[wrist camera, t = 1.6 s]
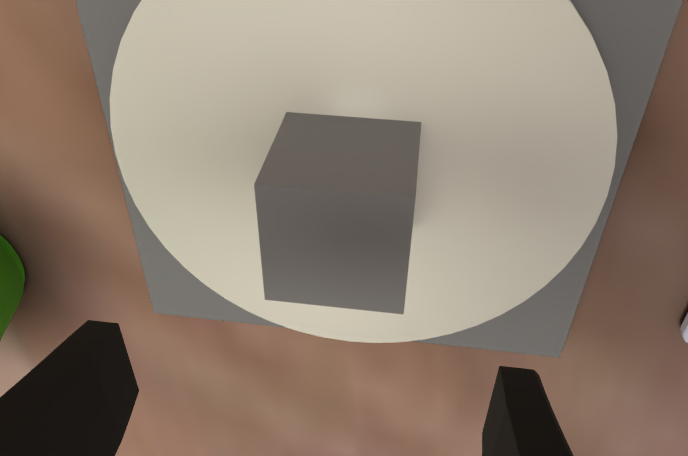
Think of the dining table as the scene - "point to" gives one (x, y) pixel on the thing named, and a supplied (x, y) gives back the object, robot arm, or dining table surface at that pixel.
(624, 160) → the mat
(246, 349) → the dining table surface
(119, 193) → the dining table surface
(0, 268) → the cup
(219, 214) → the lid
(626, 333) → the dining table surface
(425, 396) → the dining table surface
